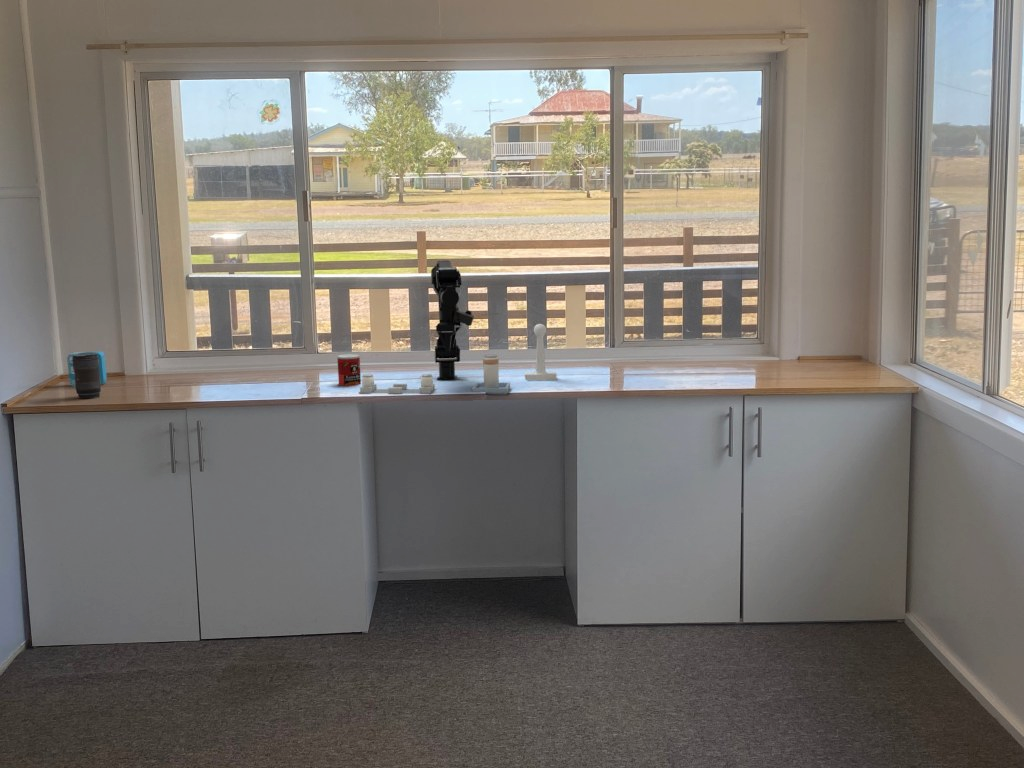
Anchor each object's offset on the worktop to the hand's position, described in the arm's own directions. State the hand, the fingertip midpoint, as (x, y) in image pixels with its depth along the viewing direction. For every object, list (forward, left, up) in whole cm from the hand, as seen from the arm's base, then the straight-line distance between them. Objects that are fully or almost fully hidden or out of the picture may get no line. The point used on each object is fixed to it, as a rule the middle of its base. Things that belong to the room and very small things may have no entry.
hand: (449, 349), depth 348 cm
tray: (+9, +15, -13) cm, 22 cm away
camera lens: (+16, -122, -13) cm, 124 cm away
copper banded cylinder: (+9, +15, -12) cm, 21 cm away
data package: (-9, -135, -13) cm, 136 cm away
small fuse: (+13, -6, -12) cm, 19 cm away
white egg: (+13, -26, -12) cm, 31 cm away
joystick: (-16, +30, -13) cm, 36 cm away
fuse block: (+13, -16, -13) cm, 24 cm away
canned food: (-2, -36, -13) cm, 38 cm away
